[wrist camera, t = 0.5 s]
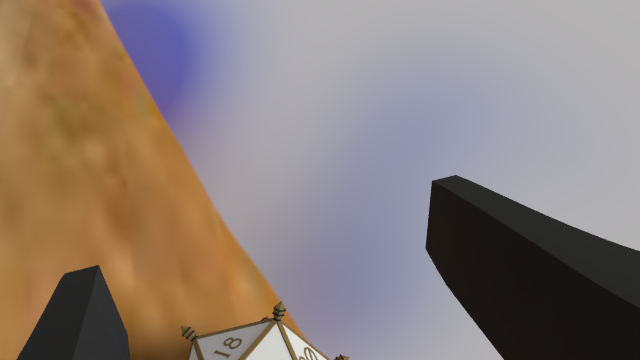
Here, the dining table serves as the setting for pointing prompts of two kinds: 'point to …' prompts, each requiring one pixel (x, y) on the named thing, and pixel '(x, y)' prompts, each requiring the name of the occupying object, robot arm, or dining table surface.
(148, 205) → the dining table surface
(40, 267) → the dining table surface
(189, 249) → the dining table surface
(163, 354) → the dining table surface
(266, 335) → the game die
